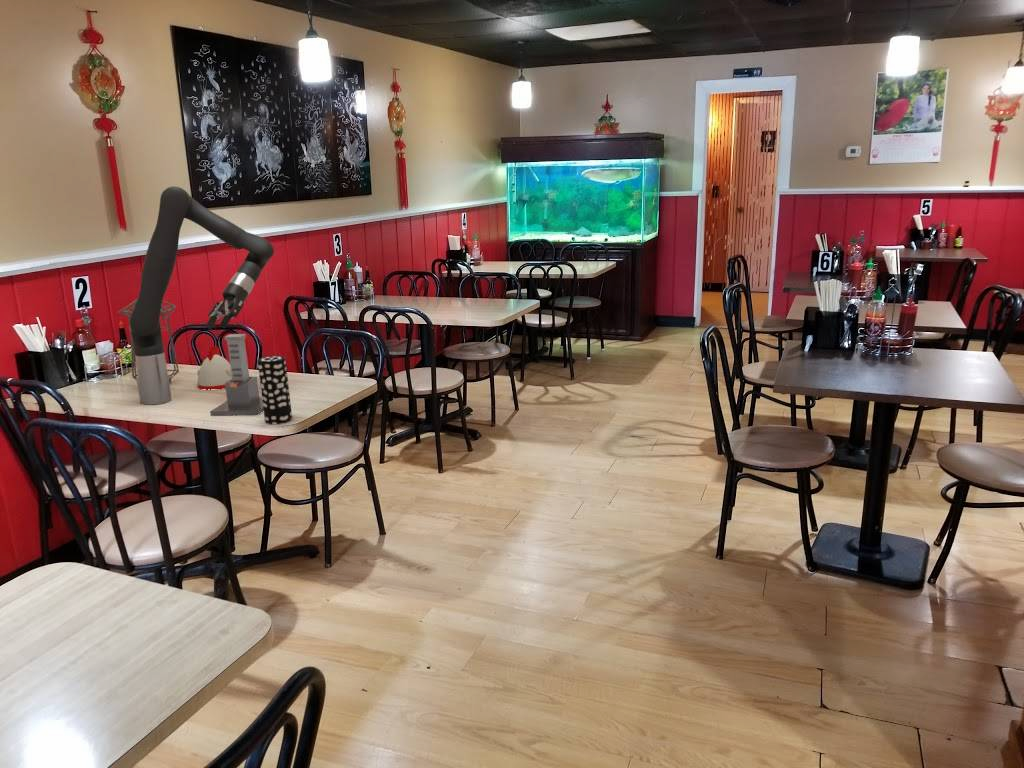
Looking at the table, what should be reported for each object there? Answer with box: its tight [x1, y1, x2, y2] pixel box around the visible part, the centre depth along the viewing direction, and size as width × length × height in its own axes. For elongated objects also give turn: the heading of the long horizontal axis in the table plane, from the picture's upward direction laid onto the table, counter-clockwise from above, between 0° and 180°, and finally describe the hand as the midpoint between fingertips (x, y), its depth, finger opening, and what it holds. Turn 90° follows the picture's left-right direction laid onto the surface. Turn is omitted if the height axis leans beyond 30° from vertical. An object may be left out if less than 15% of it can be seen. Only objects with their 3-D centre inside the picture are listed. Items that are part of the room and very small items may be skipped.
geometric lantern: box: [118, 298, 180, 385], centre depth 283 cm, size 16×16×35 cm
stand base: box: [209, 376, 264, 417], centre depth 253 cm, size 16×16×10 cm
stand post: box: [224, 333, 250, 382], centre depth 251 cm, size 5×5×23 cm
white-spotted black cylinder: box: [257, 355, 293, 425], centre depth 238 cm, size 8×8×20 cm
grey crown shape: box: [196, 345, 232, 391], centre depth 284 cm, size 14×14×15 cm
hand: (215, 326), depth 253 cm, fingers open, 8 cm apart
